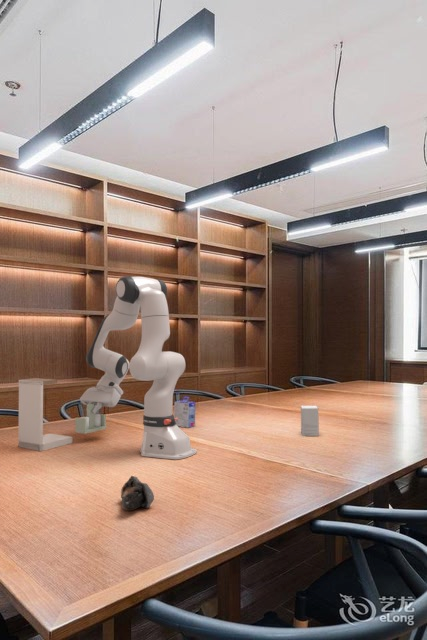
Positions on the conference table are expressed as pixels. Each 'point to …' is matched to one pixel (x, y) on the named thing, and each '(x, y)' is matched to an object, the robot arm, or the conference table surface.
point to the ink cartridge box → (184, 413)
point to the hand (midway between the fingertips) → (90, 412)
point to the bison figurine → (136, 494)
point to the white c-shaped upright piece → (35, 417)
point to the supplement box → (309, 421)
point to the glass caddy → (90, 422)
